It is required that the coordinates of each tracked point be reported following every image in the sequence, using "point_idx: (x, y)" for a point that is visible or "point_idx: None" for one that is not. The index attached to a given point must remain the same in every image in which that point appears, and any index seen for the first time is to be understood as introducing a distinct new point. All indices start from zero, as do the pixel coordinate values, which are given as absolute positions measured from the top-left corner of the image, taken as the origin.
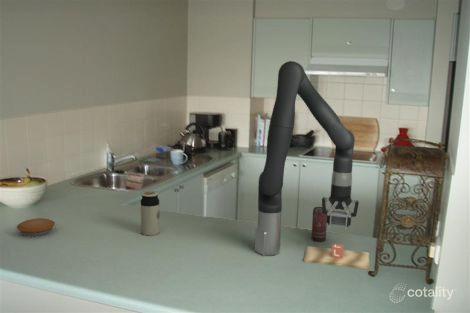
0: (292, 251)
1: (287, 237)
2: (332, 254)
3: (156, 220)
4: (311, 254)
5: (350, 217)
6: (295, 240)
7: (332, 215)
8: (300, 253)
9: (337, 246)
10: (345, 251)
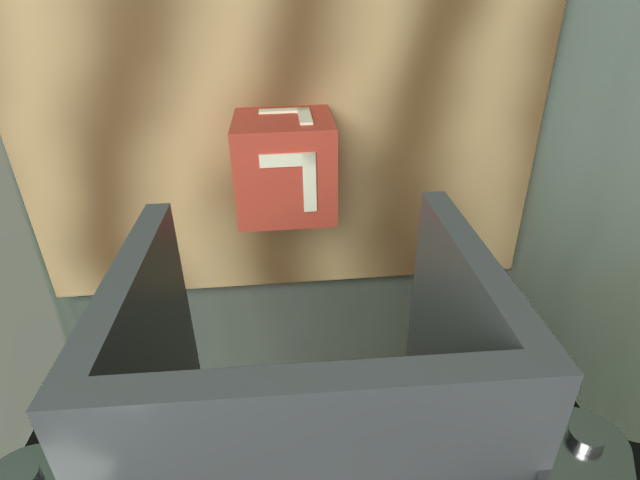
0: (622, 171)
1: (616, 382)
2: (322, 111)
3: None
4: (495, 114)
5: (12, 455)
6: (572, 357)
7: (504, 365)
8: (566, 152)
9: (286, 178)
10: (230, 263)
